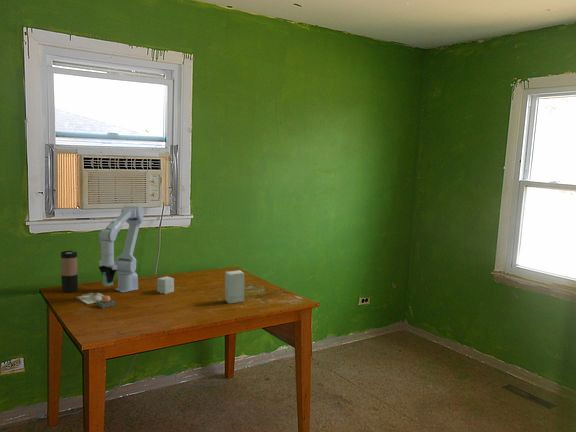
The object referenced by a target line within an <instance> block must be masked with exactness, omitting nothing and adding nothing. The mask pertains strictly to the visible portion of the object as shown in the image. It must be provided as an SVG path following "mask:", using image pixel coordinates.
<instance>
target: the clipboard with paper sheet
mask: <svg viewBox="0 0 576 432" xmlns="http://www.w3.org/2000/svg"><path fill="white" fill-rule="evenodd" d="M102 296H106V295H105V294H104V293H101V292H94V293H93V292H89V293H84V294H81V295H79V296H74V299H75V300H77V301H79V302H81V303H82V304H84V305H86V306H89V304H90V305H95V304H97V301H101V300H102ZM110 299H111V300H113V298H111V297H110ZM113 301H114V300H113ZM94 303H95V304H94Z"/></svg>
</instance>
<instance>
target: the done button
mask: <svg viewBox="0 0 576 432" xmlns="http://www.w3.org/2000/svg"><path fill="white" fill-rule="evenodd" d="M110 298H111V296H110V295H105V296H102V303H108V302H110Z"/></svg>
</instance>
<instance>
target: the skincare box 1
mask: <svg viewBox="0 0 576 432" xmlns="http://www.w3.org/2000/svg"><path fill="white" fill-rule="evenodd" d="M159 292H160V294H163V293H164V295H167V294H170V293H174V292H175V278H174V277H170V276H162V277H158V278H157V293H159Z"/></svg>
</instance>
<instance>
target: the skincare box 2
mask: <svg viewBox="0 0 576 432" xmlns="http://www.w3.org/2000/svg"><path fill="white" fill-rule="evenodd" d="M224 286H225V287H224V289H225V290H224V291H225V292H224V293H225V295H224V296H225V297H224V299H225V300H224V301H226V302H227V304H235V303H244V302H245V272H243V271H242V270H240V269H237V270H232V271H224Z"/></svg>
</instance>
